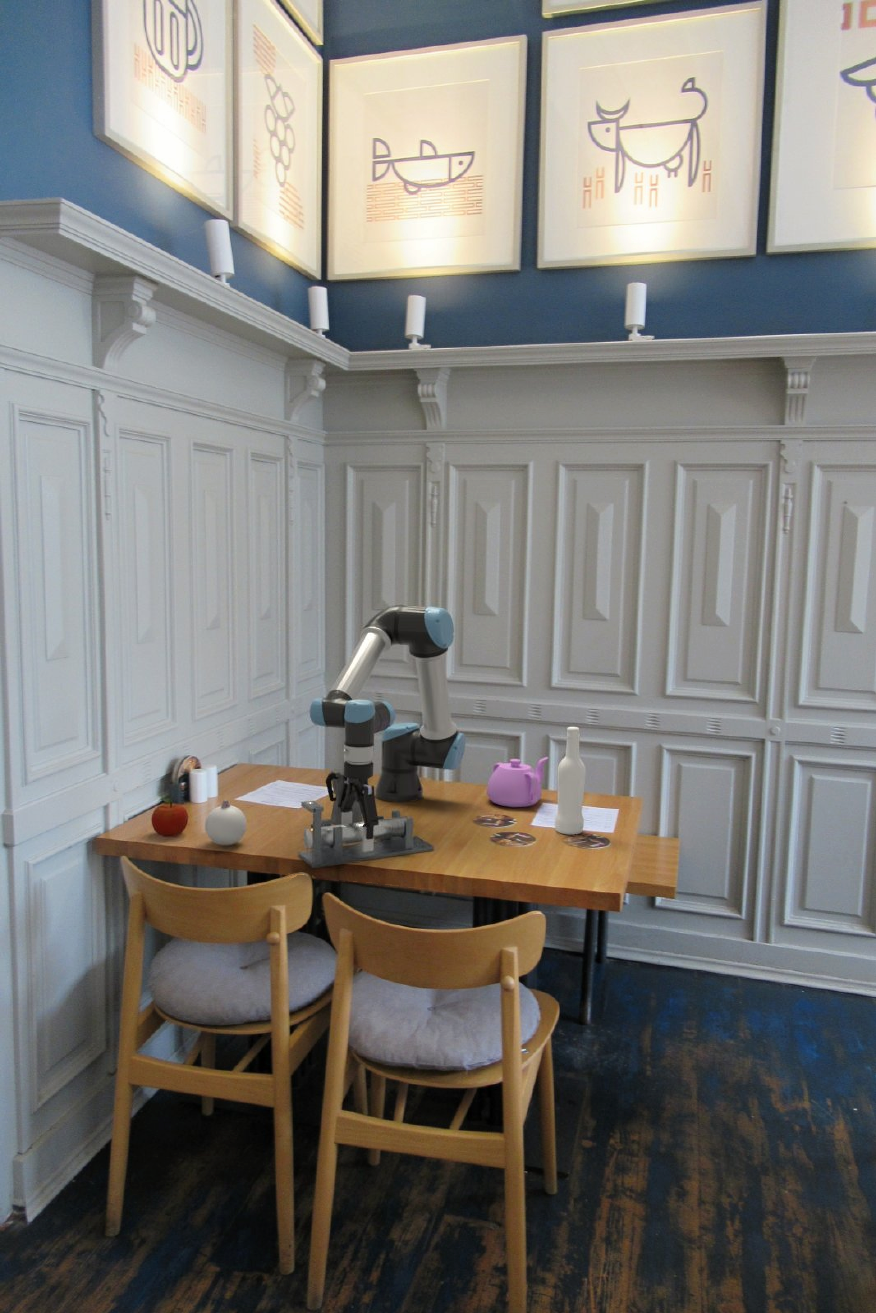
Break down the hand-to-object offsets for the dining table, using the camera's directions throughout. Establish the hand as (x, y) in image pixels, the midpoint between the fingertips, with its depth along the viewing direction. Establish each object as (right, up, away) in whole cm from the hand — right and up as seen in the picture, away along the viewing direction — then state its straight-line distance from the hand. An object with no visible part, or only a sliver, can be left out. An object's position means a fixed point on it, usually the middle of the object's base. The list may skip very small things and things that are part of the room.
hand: (356, 843), depth 244 cm
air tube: (0, +1, 0) cm, 1 cm away
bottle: (+58, -2, +27) cm, 64 cm away
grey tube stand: (+3, -3, +2) cm, 4 cm away
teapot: (+47, +2, +57) cm, 73 cm away
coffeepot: (-6, 0, +28) cm, 28 cm away
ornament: (-35, -1, +6) cm, 35 cm away
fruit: (-51, 0, +12) cm, 53 cm away
